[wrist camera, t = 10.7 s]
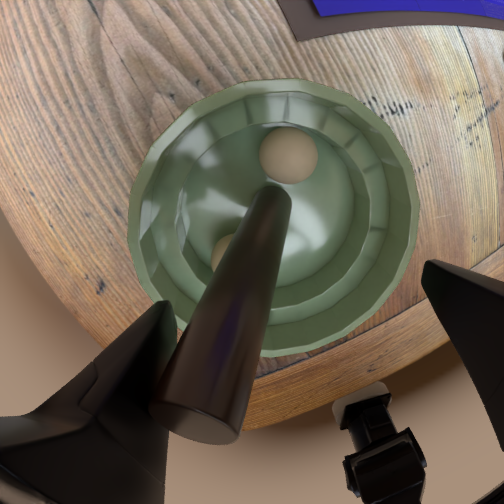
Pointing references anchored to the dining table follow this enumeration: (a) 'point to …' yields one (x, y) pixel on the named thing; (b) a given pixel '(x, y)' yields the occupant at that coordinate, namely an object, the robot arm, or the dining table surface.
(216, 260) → the bead
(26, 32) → the dining table surface
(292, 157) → the bead
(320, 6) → the booklet
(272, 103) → the bowl
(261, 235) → the stick
